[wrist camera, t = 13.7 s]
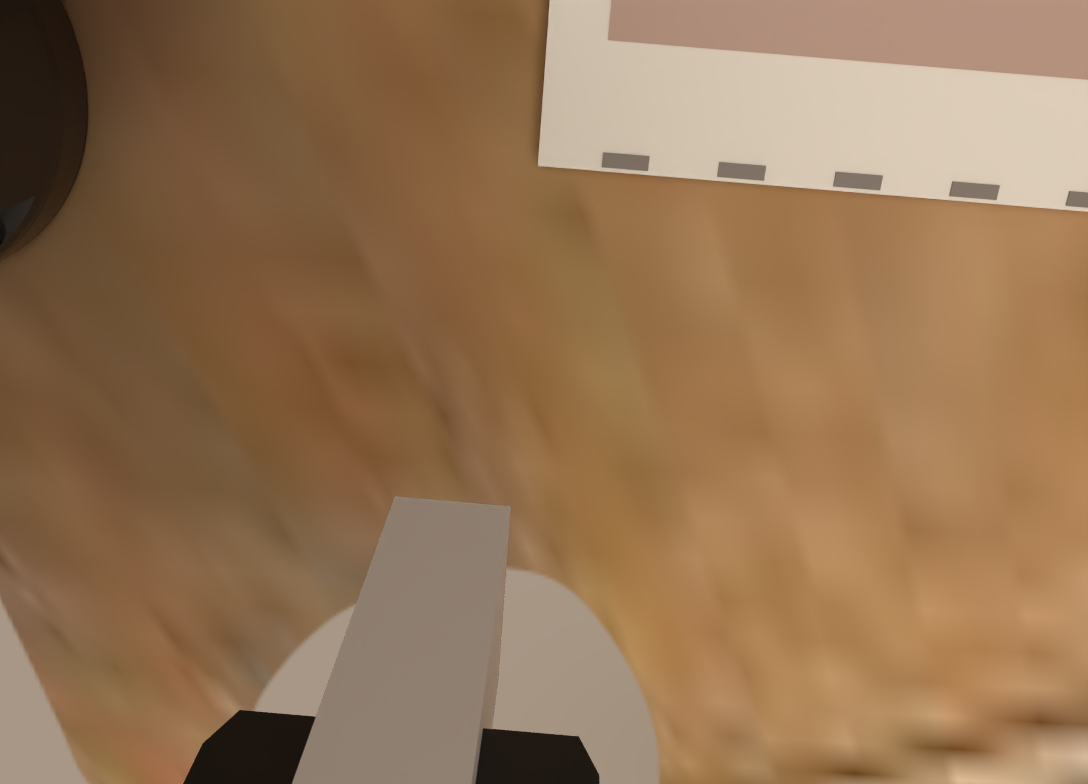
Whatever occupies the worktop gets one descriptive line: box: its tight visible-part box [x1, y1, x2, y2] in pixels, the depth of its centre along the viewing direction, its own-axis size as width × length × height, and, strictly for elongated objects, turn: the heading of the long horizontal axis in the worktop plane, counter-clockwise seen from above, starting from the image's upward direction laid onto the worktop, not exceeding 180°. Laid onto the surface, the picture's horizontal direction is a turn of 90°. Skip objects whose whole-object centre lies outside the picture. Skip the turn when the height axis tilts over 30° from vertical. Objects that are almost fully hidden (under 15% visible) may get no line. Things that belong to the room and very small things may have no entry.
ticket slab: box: [538, 0, 1088, 212], centre depth 35 cm, size 22×8×2 cm, turn 86°
